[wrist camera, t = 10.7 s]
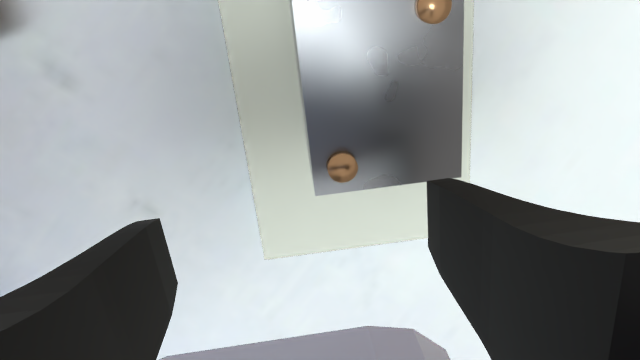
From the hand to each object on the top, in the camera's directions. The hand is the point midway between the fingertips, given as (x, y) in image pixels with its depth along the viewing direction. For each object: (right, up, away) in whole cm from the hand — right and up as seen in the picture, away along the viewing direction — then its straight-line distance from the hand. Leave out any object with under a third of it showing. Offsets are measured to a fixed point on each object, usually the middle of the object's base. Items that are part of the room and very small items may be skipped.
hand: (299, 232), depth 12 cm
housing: (+2, +6, +6) cm, 9 cm away
